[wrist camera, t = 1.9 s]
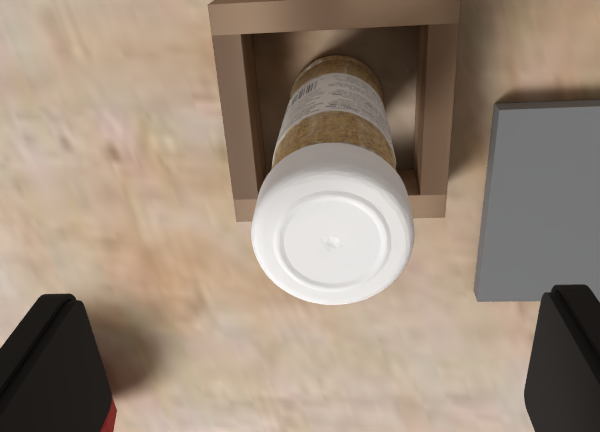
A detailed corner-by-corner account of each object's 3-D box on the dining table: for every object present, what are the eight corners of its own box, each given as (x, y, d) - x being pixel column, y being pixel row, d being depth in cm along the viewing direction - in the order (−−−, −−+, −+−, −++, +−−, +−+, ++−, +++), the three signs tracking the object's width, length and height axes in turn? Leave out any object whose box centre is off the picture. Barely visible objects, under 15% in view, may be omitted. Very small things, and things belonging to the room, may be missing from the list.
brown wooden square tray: (448, -18, 24) (461, -10, 21) (435, 189, 29) (445, 217, 26) (221, -5, 25) (207, 4, 22) (246, 194, 30) (236, 221, 27)
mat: (740, 94, 25) (754, 100, 24) (676, 289, 31) (686, 300, 30) (494, 103, 26) (499, 109, 25) (473, 290, 32) (477, 301, 31)
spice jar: (325, 159, 28) (312, 335, 17) (270, 88, 27) (214, 226, 15) (402, 109, 27) (448, 263, 15) (349, 30, 25) (354, 133, 13)
